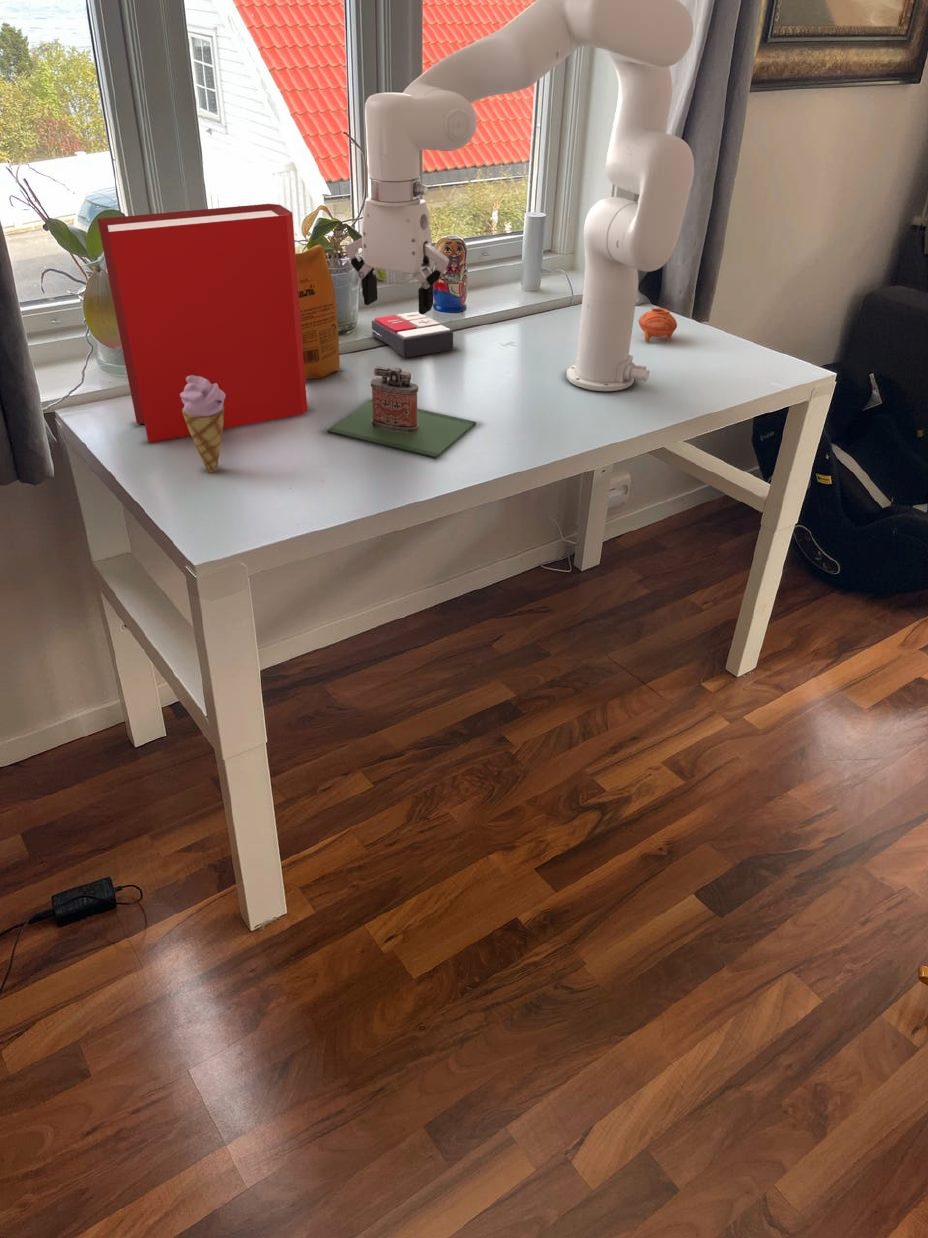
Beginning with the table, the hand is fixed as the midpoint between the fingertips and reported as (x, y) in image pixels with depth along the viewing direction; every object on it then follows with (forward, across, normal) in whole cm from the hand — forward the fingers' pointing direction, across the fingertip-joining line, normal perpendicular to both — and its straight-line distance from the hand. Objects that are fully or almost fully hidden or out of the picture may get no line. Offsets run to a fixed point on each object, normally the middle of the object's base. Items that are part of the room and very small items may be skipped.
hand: (397, 307), depth 147 cm
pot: (+21, -27, -61) cm, 70 cm away
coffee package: (+19, +26, -11) cm, 34 cm away
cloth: (+19, -2, +2) cm, 19 cm away
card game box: (+20, +16, -35) cm, 43 cm away
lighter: (+19, -1, +3) cm, 19 cm away
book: (+19, +26, +13) cm, 35 cm away
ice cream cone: (+19, +17, +29) cm, 39 cm away
